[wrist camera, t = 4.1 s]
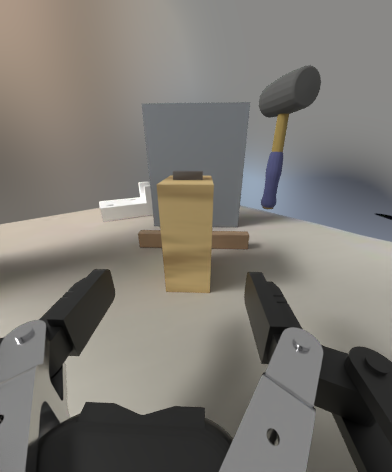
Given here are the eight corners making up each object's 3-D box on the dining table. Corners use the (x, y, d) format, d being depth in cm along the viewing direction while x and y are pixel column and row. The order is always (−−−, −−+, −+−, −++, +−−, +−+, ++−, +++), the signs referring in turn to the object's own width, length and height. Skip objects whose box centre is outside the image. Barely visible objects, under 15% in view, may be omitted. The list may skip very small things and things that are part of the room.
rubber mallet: (294, 213, 47) (329, 63, 35) (269, 216, 45) (296, 58, 33) (265, 202, 58) (284, 85, 46) (244, 204, 56) (258, 82, 44)
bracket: (150, 208, 53) (148, 181, 50) (157, 215, 47) (155, 185, 44) (102, 214, 48) (95, 185, 45) (103, 223, 42) (95, 190, 39)
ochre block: (209, 292, 21) (214, 175, 15) (166, 291, 21) (155, 174, 16) (208, 260, 27) (211, 168, 22) (175, 259, 27) (169, 168, 22)
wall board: (247, 249, 30) (269, 80, 21) (140, 247, 31) (115, 83, 22) (236, 223, 41) (247, 105, 32) (156, 222, 41) (145, 106, 32)
